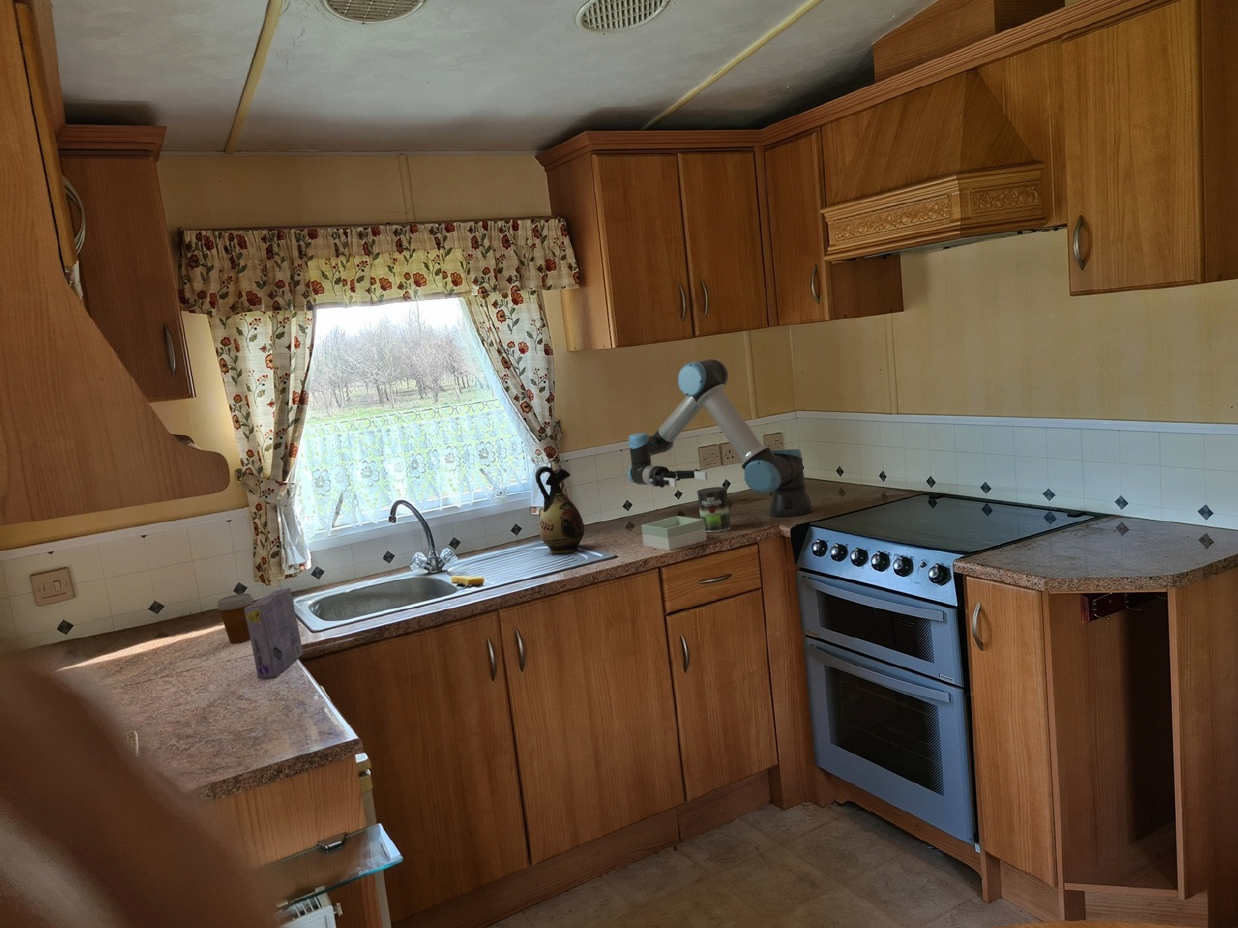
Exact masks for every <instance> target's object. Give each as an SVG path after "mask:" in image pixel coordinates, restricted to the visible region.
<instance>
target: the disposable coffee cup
mask: <svg viewBox="0 0 1238 928" xmlns="http://www.w3.org/2000/svg"><path fill="white" fill-rule="evenodd" d="M253 603H254V598H253V596H252V594H250V593H238V594H232V595H228V596H225V597H222V598H220V599H218V600H217V604H216V608H217V609H218V610H219V612H220V616H221V619H222V622H223V625H224V628H225V632H226V634H227V637H228V640H229V643H230V644H240V643H245V642H248V641H251V640H250V635H249V630H248V626H247V621H246V616H245V611H244V608H246V607H248V606H250V605H251V604H253Z"/></svg>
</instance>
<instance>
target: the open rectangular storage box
mask: <svg viewBox="0 0 1238 928" xmlns="http://www.w3.org/2000/svg"><path fill="white" fill-rule="evenodd" d="M640 527H641V534H642V541H643V542H642V543H643V546H645V547H651V548H654V549H655V548H656V549H661V550H666V551H673V550H675V549H679V548H683V547H687V546H691V545H693V544H694V545H695V544H698V542H699V543H702V542H705V540H706V541H707V535H706V534H707V533H706V532H705V524H704V519H701V518H694V517H688V516H679V515H676V516H672V517H668V518H664V519H660V520H657V521H652V522H648V523H644V524H641V525H640Z"/></svg>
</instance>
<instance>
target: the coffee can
mask: <svg viewBox="0 0 1238 928" xmlns="http://www.w3.org/2000/svg"><path fill="white" fill-rule="evenodd" d="M696 494H697V500H698V501H697V502H698V507H699V517H700V518H699V519H704V524H705V532H716V533H718V532H717V531H723V532H727V531H729V529H730V530H731V529H732V525H731V519H730V518H731V517H730V516H731V515H730V507H729V500H728V488H727V487H724V486H718V487H716V486H714V487H708V488H701V489H698V490H697V491H696Z"/></svg>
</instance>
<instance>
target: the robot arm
mask: <svg viewBox="0 0 1238 928" xmlns="http://www.w3.org/2000/svg"><path fill="white" fill-rule="evenodd" d="M677 377H678V379H677V383H678V388H679V389H680V391H681V393H682V394H684V396H685V397H684V398H683V399H682V400H681V402H680V403H679V404H678V405H677V406H676V408H675V409H674V410H673V411H672V412H671V414H669V416H667V418H666V420H665V421H664V422H663V423H662V424H661V425H660V426H659V428H658V429H657V430H655V433H654V434H652V435H648V433H647V432H638V433H632V434H630V435H629V436H628V447H629V453H630V454H629V455H630V463H631V465H630V466H629V468H628V471H627V478H628V479H629V481H630V482H631V483H633V484H637V485H640V486H641V485H643V486H645V485H646V486H652V487H653V488H655V487H660V488H661V489H662V488H664V487H673V488H674V487H677V482H678V481H680V480H686V479H687V480H688V479H695V480H701V481H702V480H703V481H706V480H708V473H707V471H701V469H697V468H695V469H691V470H689V469H688V470H687V469H686V470H678V469H677V470H674V471H673V470H669V468H667V467H666V466H665V465H664V466H663V465H661V466H660V465H653V464H652V458H651V457H652V456H655V455H658V454H664V453H667V452H668V451H671V450H672V449H673V446H674V443H675V440H676V439H677V438H678V437H679V436H680V435H681V433H682V432H683V431H684V430H685V429H686V428H687V427H688V425H689V424H690V423H691V422H692V421H693V419H695V417H696V416H697V415H698V414H699V413H700V412H701V411H702V409H703V408H705V409H706V411H707V412H708V414H709V416H710V417H711V418H712V420H713V421H714V422H715V424H716V425H717V426H718V428H719V429H720V430H721V432H722V433H723V435H724V436H725V438H726V439H727V440H728V442H729V443H730V445H731V446H732V447H733V449H734V451H735V452H736V454H738V456H739V458H740V459H741V464H740V465H741V468H742V469H743V475H744V476H743V477H744V482H745V483H746V486H747V487H748V488H749V489H750V490H752V491H753V492H756V493H758V494H767V493H772V495H771V501H770V506H769V515H770V516H772V517H783V518H785V517H795V516H796V517H797V516H803V515H807V514H809V513H811V512H813V504H812V502H811V499H810V497H809V495H808V492H807V490H806V483H805V482H806V481H805V474H804V465H803V463H804V462H803V460H804V459H803V457H802V451H801V450H800V449H799V448H792V449H789V448H788V449H775V450H774V449H771V448H770V446H765V445H763V444H762V443H761V441H760V440H759V439H758V437H757V436H756V435H755V433H754V432H753V431H752V430H751V428H750V426H749V425H748V423H747V422H746V421H745V419H744V418H743V417H742V415H741V414H740V413H739V411H738V410H737V408H736V407H735V405H734V404H733V403H732V401H731V400H730V398H729V397H728V396H727V394H726V392H725V387H726V385H727V384H728V379H729V372H728V369H727V366H725V364H724V363H722V362H721V361H720V360H718V359H706V360H705V359H704V360H699V361H692V362H689V363H686V364H685V365H684V366H682V368H681V369H680V371H679V372H678V376H677Z"/></svg>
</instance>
